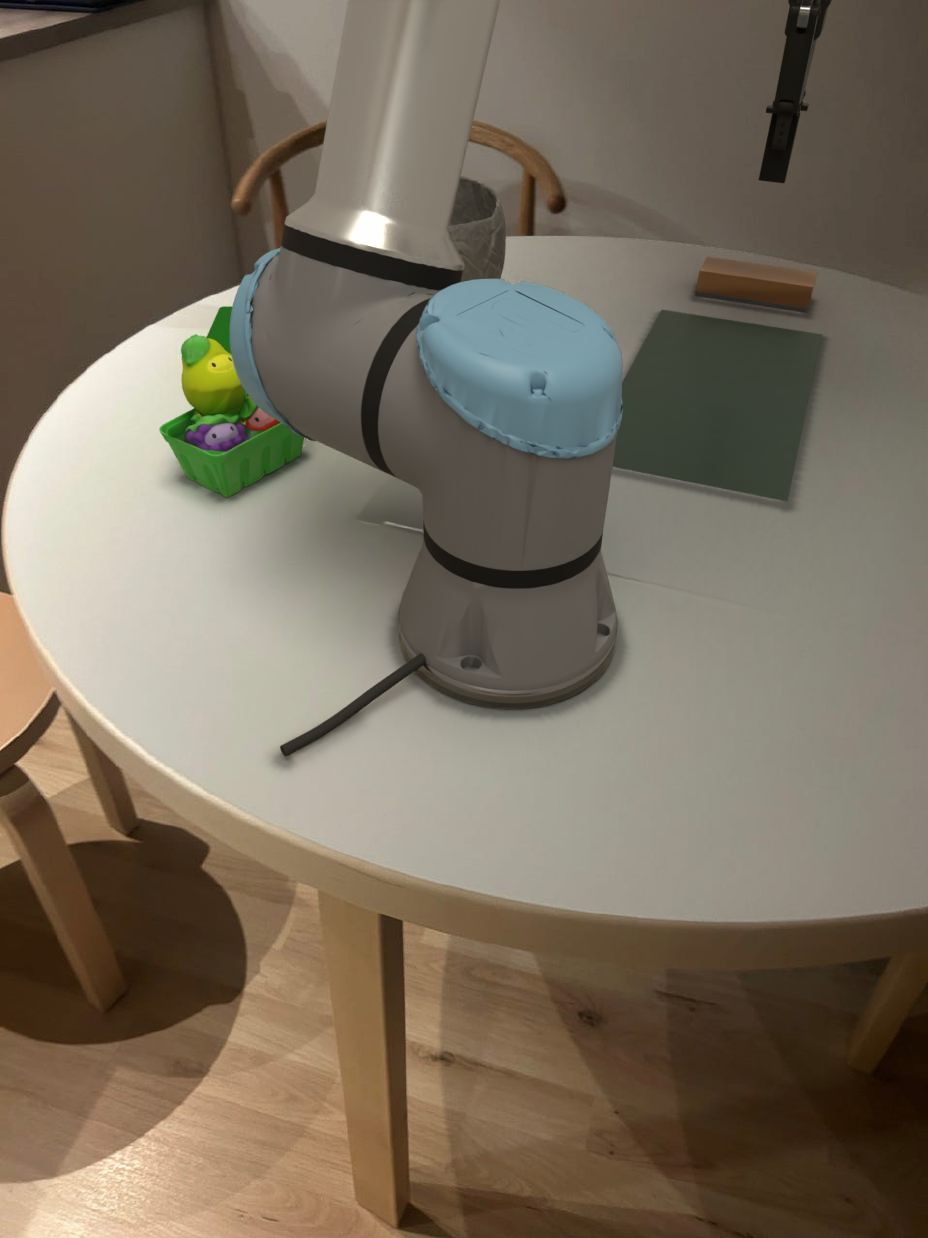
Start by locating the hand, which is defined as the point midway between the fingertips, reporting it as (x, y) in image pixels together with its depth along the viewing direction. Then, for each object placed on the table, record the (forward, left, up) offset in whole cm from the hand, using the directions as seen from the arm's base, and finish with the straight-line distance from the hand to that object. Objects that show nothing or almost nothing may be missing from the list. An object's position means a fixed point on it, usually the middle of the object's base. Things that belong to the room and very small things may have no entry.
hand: (772, 179), depth 103 cm
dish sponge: (-57, +8, -15) cm, 59 cm away
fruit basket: (-62, -14, -15) cm, 65 cm away
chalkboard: (-15, -17, -15) cm, 27 cm away
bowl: (-39, +7, -15) cm, 42 cm away
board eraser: (+3, +3, -15) cm, 15 cm away
